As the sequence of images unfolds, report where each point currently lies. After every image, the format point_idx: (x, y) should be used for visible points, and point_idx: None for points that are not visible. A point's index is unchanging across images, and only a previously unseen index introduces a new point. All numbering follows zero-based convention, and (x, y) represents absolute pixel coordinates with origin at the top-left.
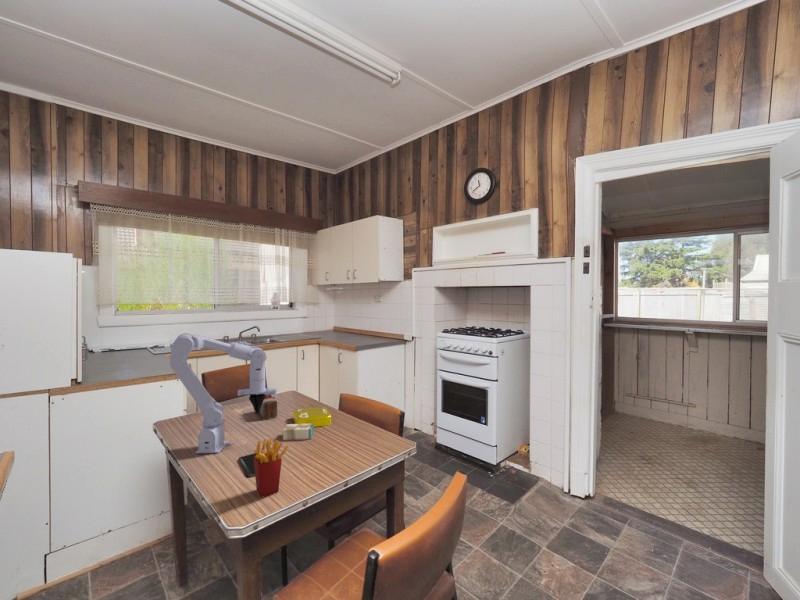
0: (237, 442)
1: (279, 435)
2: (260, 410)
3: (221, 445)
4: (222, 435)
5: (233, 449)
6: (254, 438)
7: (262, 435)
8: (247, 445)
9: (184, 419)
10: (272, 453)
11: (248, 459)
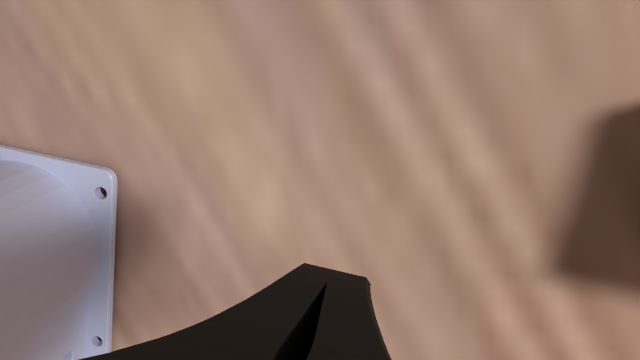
0: (197, 192)
1: (621, 117)
2: (370, 297)
3: (89, 291)
4: (35, 326)
5: None
6: (341, 134)
7: (418, 68)
8: None
9: None
10: None
11: None
